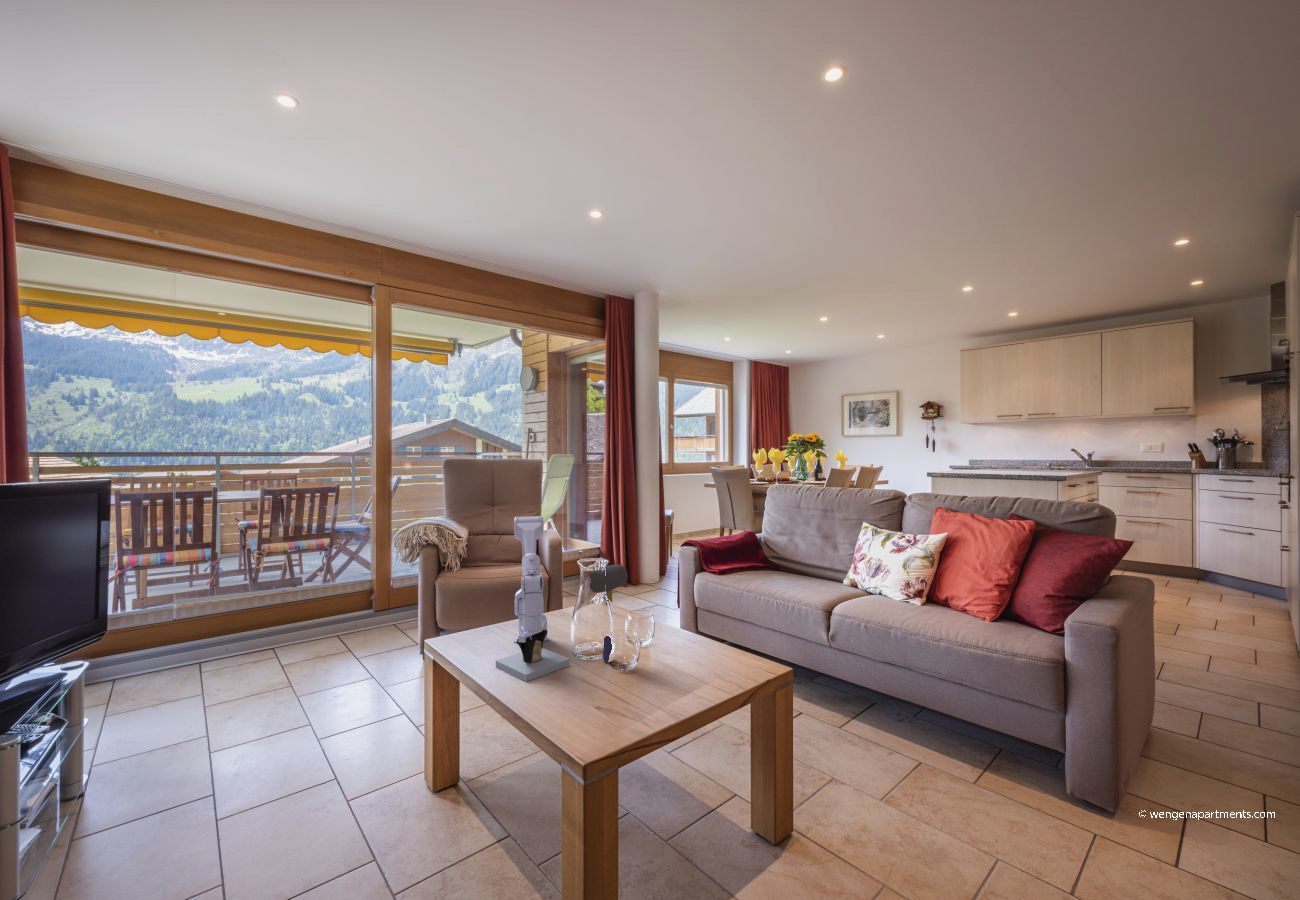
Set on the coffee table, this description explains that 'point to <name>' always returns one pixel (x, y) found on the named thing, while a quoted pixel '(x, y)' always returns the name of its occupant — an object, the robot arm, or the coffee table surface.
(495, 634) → the coffee table surface
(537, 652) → the oak peg
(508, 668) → the mortise board
